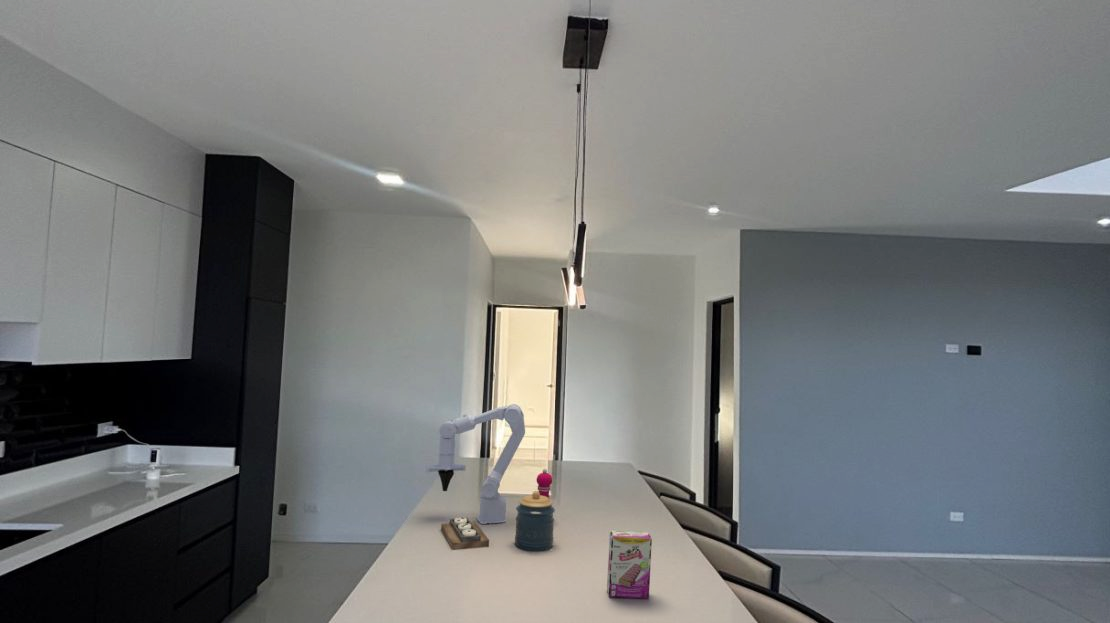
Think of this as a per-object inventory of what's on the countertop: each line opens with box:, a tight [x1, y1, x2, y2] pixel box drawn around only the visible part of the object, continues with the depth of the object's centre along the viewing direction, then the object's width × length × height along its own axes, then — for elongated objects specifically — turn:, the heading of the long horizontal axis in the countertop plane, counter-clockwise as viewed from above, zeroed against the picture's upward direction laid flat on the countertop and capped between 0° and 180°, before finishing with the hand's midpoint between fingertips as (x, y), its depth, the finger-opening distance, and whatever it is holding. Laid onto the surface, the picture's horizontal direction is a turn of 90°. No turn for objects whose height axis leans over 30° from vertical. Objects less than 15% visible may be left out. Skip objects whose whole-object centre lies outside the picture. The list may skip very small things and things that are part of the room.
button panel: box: [440, 517, 490, 550], centre depth 195 cm, size 12×20×4 cm, turn 22°
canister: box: [514, 490, 556, 552], centre depth 192 cm, size 13×13×18 cm
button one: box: [462, 529, 476, 537], centre depth 189 cm, size 4×4×2 cm
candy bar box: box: [606, 530, 653, 600], centre depth 156 cm, size 11×5×16 cm, turn 92°
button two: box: [453, 517, 467, 524], centre depth 201 cm, size 4×4×2 cm
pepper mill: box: [536, 468, 553, 507], centre depth 216 cm, size 7×7×20 cm
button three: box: [458, 523, 471, 530], centre depth 195 cm, size 4×4×2 cm
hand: (444, 490), depth 215 cm, fingers closed
